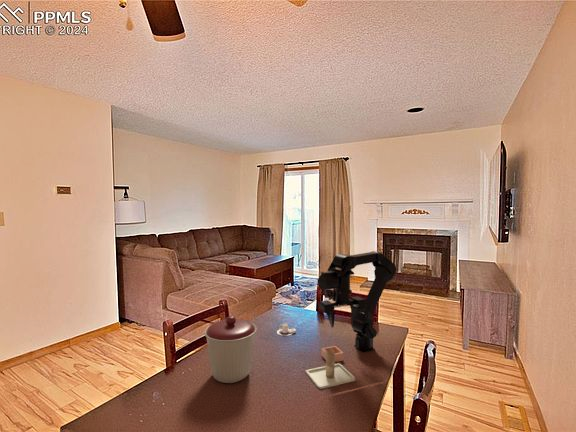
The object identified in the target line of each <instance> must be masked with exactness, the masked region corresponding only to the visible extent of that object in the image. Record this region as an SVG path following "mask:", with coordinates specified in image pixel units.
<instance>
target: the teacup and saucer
mask: <svg viewBox="0 0 576 432" xmlns="http://www.w3.org/2000/svg"><path fill="white" fill-rule="evenodd" d="M280 332H282V333H283V334H281V333H280ZM296 332H297V329H296V328H289V324H288V323H286V322H285V323H281V324H280V325H279V329H278V330H276V334H277V335H279V336H282V337H288V336H291V335H293V334H295V333H296ZM288 333H289V334H288Z"/></svg>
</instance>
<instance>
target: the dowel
mask: <svg viewBox="0 0 576 432" xmlns="http://www.w3.org/2000/svg"><path fill="white" fill-rule="evenodd" d="M335 364H336V362H335V351H334V350H333V349H327V350H326V360H325V366H326V377H327V378H330V379H331V378H334V367H335Z"/></svg>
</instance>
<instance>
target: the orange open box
mask: <svg viewBox="0 0 576 432" xmlns="http://www.w3.org/2000/svg"><path fill="white" fill-rule="evenodd" d="M327 349H333V350H334V351H335V363H340V362H343V361H344V352H343V351H342V350H341V349H340V348H338V347H337V346H336V345H332V346H328V347H321V357H322V358H323V359H324V360H325V361H326V350H327Z"/></svg>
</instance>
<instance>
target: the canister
mask: <svg viewBox="0 0 576 432" xmlns="http://www.w3.org/2000/svg"><path fill="white" fill-rule="evenodd" d="M257 329H258V328H257V325H255V324H254V323H253V322H250V321H249V320H246V319H242V318H236V317H235V316H233V315H228V316H227V317H226V318H225V319H222V320H218V321H216V322H213V323H212V324H210V325H208V326H207V327H206V328H205V329H204V333H203V334H204V336H205V337H206V343H207V351H208V359H209V367H210V372H211V375H212V377H213V378H214V380H216V381H217V382H219V383H225V384H234V383H237V382H239V381H242V380H244V379H246V378H247V376H248V375H249V373H250V371H251V368H252V360H253V353H254V352H253V351H254V343H255V334H256V332H257Z"/></svg>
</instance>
